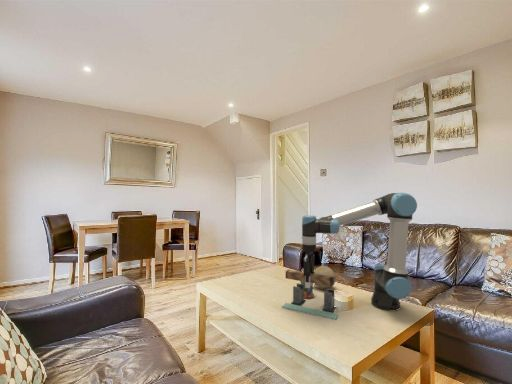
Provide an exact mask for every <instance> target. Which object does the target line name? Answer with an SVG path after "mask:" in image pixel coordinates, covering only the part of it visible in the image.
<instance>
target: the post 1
mask: <svg viewBox="0 0 512 384" xmlns="http://www.w3.org/2000/svg"><path fill="white" fill-rule="evenodd" d="M292 295H293V296H292V302H291V303H290V304H294V305H298V306H303V305H304V304H305V303H306V301H307V300H306V299H305V298H304V284H301V283H299V282H297V283H296V286H295V285H293V287H292Z"/></svg>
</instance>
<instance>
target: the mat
mask: <svg viewBox="0 0 512 384" xmlns="http://www.w3.org/2000/svg"><path fill="white" fill-rule="evenodd" d="M282 308H283V309H286V308H287V310H291V311H296V312H300V313H305V314H309V315H313V316H318V317H323V318H328V319H332V320H337V318H338V317H339V314H338V313H335V312H334V313H331V312H326V311H322V309H316V308H312V307H306V306H303V305H302V306H298V305H294V304H291V303H288V302H285V303H284V304H283V305H282V306H281V309H282Z"/></svg>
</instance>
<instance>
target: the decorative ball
mask: <svg viewBox="0 0 512 384" xmlns="http://www.w3.org/2000/svg"><path fill="white" fill-rule="evenodd" d="M333 270H334V269H332V268H330V267H328V266H325V265H321V266H318V267H316V268H315V269H314V274H319V275H326V276H332V277H334V284H335V283H336V274H335V272H334V271H333ZM315 287H318V288H319V289H322V290H327V289H331V288H332V287H333V286H328V285H322V284H316V285H315Z"/></svg>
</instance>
